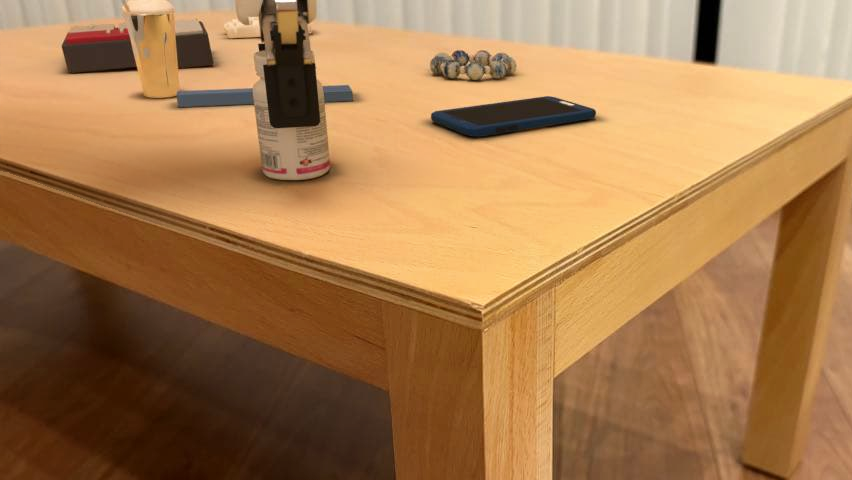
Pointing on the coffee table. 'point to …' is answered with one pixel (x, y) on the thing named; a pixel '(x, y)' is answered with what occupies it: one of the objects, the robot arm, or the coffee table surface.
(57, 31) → the coffee table surface
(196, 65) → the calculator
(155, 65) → the milkshake
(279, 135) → the pill bottle
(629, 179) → the coffee table surface
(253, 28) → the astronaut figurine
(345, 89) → the blue ruler strip
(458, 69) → the bracelet
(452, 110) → the cell phone
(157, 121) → the coffee table surface
